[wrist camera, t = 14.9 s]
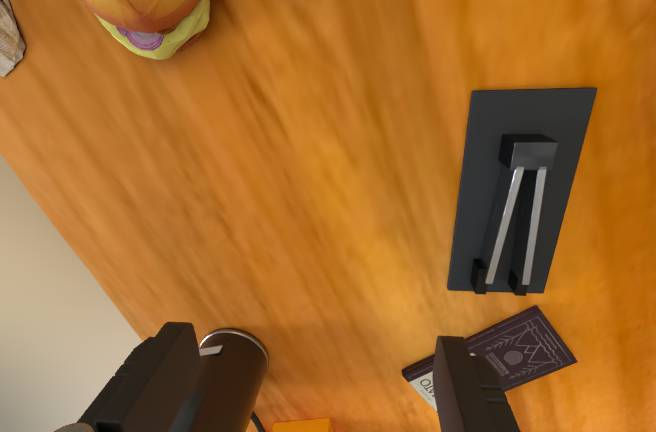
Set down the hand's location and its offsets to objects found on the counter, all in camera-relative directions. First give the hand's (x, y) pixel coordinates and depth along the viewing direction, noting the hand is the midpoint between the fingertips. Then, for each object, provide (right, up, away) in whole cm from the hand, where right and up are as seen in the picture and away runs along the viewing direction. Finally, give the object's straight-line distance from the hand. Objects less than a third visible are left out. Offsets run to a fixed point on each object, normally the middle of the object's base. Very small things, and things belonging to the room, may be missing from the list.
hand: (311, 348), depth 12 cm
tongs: (+18, +4, +24) cm, 30 cm away
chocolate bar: (+20, -14, +32) cm, 40 cm away
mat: (+19, +6, +24) cm, 31 cm away
